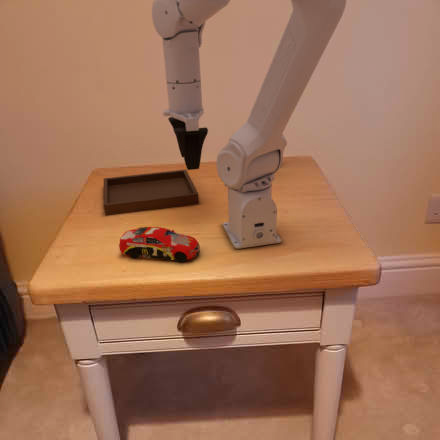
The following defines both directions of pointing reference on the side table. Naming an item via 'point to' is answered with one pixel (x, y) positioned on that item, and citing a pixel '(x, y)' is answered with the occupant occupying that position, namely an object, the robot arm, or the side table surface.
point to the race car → (158, 244)
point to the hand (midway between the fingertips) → (190, 162)
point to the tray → (148, 192)
